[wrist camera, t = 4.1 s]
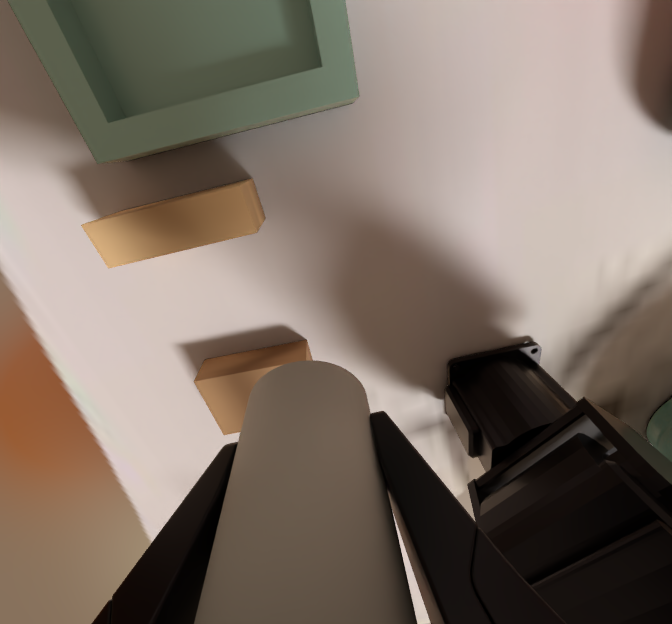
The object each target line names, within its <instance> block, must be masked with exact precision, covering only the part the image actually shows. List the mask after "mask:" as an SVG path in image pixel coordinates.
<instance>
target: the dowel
mask: <svg viewBox="0 0 672 624" xmlns="http://www.w3.org/2000/svg"><path fill="white" fill-rule="evenodd" d="M370 414H371V413H370V409H369V404H368V400H367V395H366V392H365V389H364V387H363V385H362V384H361V382H360V381H359V380H358V379H357V378H356V377H355V376H354V375H353V374H352V373H350V372H349V371H347V370H346V369H344V368H342V367H340V366H337V365H335V364H331V363H328V362H322V361H311V360H307V361H297V362H291V363H288V364H284V365H282V366H279V367H277V368H275V369H273V370H271V371H269V372H268V373H266V374H265V375H264V376H263V377H261V378H260V379H259V380H258V382H257V383H256V384H255V385H254V387H253V389H252V391H251V393H250V396H249V400H248V404H247V408H246V412H245V416H244V420H243V424H242V428H241V433H240V437H239V441H238V445H237V449H236V453H235V457H234V461H233V465H232V470H231V474H230V478H229V482H228V486H227V490H226V494H225V498H224V502H223V507H222V511H221V515H220V519H219V523H218V527H217V531H216V535H215V539H214V544H213V548H212V552H211V556H210V560H209V564H208V568H207V572H206V576H205V581H204V585H203V589H202V593H201V597H200V601H199V605H198V609H197V613H196V618H195V622H194V624H417V620H416V616H415V611H414V607H413V602H412V598H411V593H410V589H409V584H408V580H407V575H406V571H405V566H404V562H403V557H402V553H401V548H400V544H399V539H398V535H397V530H396V526H395V521H394V517H393V512H392V508H391V503H390V499H389V494H388V490H387V485H386V482H385V478H384V475H383V472H382V468H381V465H380V461H379V457H378V452H377V448H376V443H375V439H374V434H373V429H372V425H371V420H370Z"/></svg>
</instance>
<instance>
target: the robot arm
mask: <svg viewBox="0 0 672 624" xmlns="http://www.w3.org/2000/svg"><path fill="white" fill-rule="evenodd" d="M532 349H533V350H532ZM541 350H542V349H541V347H540V346H539V345H538V344H537V343H536V342H530V343H525V344H520V345H516V346H511V347H507V348H502V349H497V350H493V351H488V352H483V353H479V354H474V355H469V356H465V357H460V358H455V359H452V360H450V361H449V362H448V364H447V374H448V386H446V388H445V405H446V412H447V414H448V416H449V418H450V420H451V422H452V424H453V426H454V428H455V430H456V432H457V434H458V436H459V438H460V440H461V442H462V444H463V446H464V448H465V450H466V452H467V454H468V455H469V456H470V457H472V458H475V457H478V458H479V460H480V462H481V464H482V466H483V467H484V469H485V471H486V473H484V474H483V475H482V476H480V477H479V478H478V479H473V480H472V481H471V482H469V483H468V490H469V494H470V498H471V503H472V507H473V512H474V517H475V521H476V522H475V521H474V520H473V518H472V517H471V516H470V515H469V514H468V512H467V511H466V510H465V509H464V507H463V506H462V505H461V504H460V503H459V501H458V500H457V499H456V498H455V496H454V495H453V494H452V493H451V492H450V490H449V489H448V488H447V487H446V485H445V484H444V483H443V482H442V481H441V479H440V478H439V477H438V476H437V474H436V473H435V472H434V471H433V470H432V468H431V467H430V466H429V465H428V463H427V462H426V461H425V460H424V459H423V457H422V456H421V455H420V454H419V453H418V451H417V450H416V449H415V448H414V446H413V445H412V444H411V443H410V442H409V440H408V439H407V438H406V437H405V435H404V434H403V433H402V432H401V431H400V429H399V428H398V427H397V426H396V424H395V423H394V422H393V421H392V420H391V418H390V417H389V416H388V415H387V413H386V412H384V411H379V412H375V413H371V414H370V420H371V425H372V429H373V434H374V439H375V443H376V448H377V452H378V457H379V461H380V465H381V468H382V472H383V475H384V478H385V482H386V485H387V490H388V494H389V499H390V503H391V508H392V511H393V514H394V516H395V519H396V522H397V525H398V528H399V531H400V534H401V537H402V540H403V543H404V546H405V549H406V552H407V555H408V558H409V561H410V563H411V566H412V569H413V572H414V575H415V578H416V581H417V584H418V587H419V590H420V593H421V596H422V599H423V602H424V605H425V607H426V610H427V613H428V616H429V619H430V622H431V624H672V462H671V461H670V460H669V459H667V458H666V457H665V456H664V455H663V454H662V453H660V452H659V451H658V450H657V449H656V448H654V447H653V446H652V445H651V444H650V443H649V442H647V441H646V440H645V439H644V438H643V437H641V436H640V435H639V434H638V433H637V432H636V431H634V430H633V429H632V428H631V427H630V426H628V425H627V424H625V423H624V422H622V421H621V420H619V419H618V418H616V417H615V416H613V415H611V414H610V413H608V412H607V411H605V410H604V409H602V408H601V407H599V406H598V405H596V404H594V403H593V402H591V401H590V400H588V399H587V398H585V397H583V398H582V399H580V400H579V401H578V402H577V401H576V400H575V399H574V398H573V397H572V396H571V395H569V394H568V393H567V392H566V391H565V390H564V389H563V388H562V387H561V386H560V385H559V384H558V383H557V382H556V381H555V380H554V379H553V378H552V377H551V376H550V375H549V374H548V373H547V372H546V371H545V370H544V369H543V368H542V367H541V366H540V365H539V363H540V356H541ZM455 365H457V366H455ZM454 366H455V367H454ZM237 445H238V442H235V443H230V444H227V445H225V446H224V447H223V448H222V449H221V450H220V452H219V453H218V454H217V456H216V457H215V459H214V460H213V461H212V463H211V464H210V465H209V467H208V468H207V469H206V471H205V472H204V473H203V475H202V476H201V477H200V479H199V480H198V481H197V483H196V484H195V485H194V487H193V488H192V489H191V491H190V492H189V494H188V495H187V496H186V498H185V499H184V500H183V502H182V503H181V504H180V506H179V507H178V508H177V510H176V511H175V512H174V514H173V515H172V516H171V518H170V519H169V520H168V522H167V523H166V524H165V526H164V527H163V528H162V530H161V531H160V533H159V534H158V535H157V537H156V538H155V539H154V541H153V542H152V543H151V545H150V546H149V547H148V549H147V550H146V551H145V553H144V554H143V555H142V557H141V558H140V559H139V561H138V562H137V563H136V565H135V566H134V568H133V569H132V570H131V572H130V573H129V574H128V576H127V577H126V578H125V580H124V581H123V582H122V584H121V585H120V586H119V588H118V589H117V590H116V592H115V593H114V594H113V596H112V599H111V600H109V601H108V602H107V604H106V605H105V606H104V608H103V609H102V610H101V612H100V613H99V615H98V616H97V617H96V619H95V620H94V621H93V623H92V624H194V622H195V618H196V613H197V609H198V605H199V601H200V597H201V593H202V589H203V585H204V581H205V576H206V572H207V568H208V564H209V560H210V556H211V552H212V548H213V544H214V539H215V535H216V531H217V527H218V523H219V519H220V515H221V511H222V507H223V502H224V498H225V494H226V490H227V486H228V482H229V478H230V474H231V470H232V465H233V461H234V457H235V453H236V449H237Z"/></svg>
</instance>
